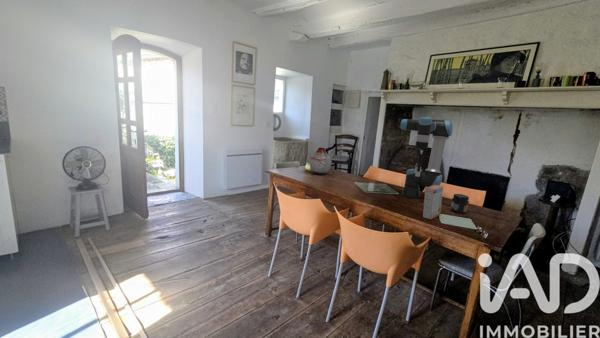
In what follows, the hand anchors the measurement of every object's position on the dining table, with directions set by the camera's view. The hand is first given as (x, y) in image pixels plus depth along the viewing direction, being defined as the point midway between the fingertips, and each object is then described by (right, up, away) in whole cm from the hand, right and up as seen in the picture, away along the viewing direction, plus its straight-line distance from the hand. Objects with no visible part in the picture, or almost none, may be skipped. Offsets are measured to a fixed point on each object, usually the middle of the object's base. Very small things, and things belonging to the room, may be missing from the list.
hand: (416, 174), depth 176 cm
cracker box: (+10, -29, +2) cm, 30 cm away
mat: (+24, -31, -4) cm, 39 cm away
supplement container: (+37, -27, +16) cm, 49 cm away
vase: (-58, -2, +105) cm, 120 cm away
